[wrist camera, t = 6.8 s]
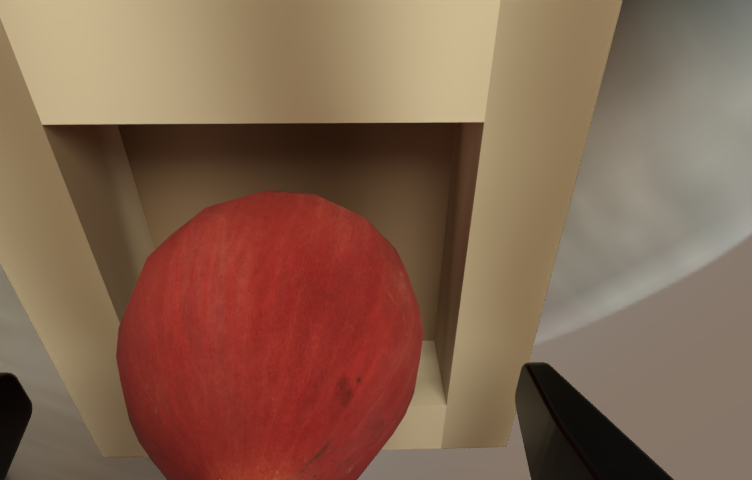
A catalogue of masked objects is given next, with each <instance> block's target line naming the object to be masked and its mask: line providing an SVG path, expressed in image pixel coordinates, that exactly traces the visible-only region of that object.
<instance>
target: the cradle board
mask: <svg viewBox="0 0 752 480" xmlns="http://www.w3.org/2000/svg"><path fill="white" fill-rule="evenodd" d="M621 4H622V1H621V0H0V263H1V265H2V267H3V269H4V271H5V273H6V275H7V277H8V279H9V280H10V282H11V284H12V286H13V288H14V290H15V292H16V294H17V296H18V297H19V299H20V301H21V303H22V305H23V307H24V309H25V311H26V313H27V315H28V316H29V318H30V320H31V322H32V324H33V326H34V328H35V330H36V332H37V333H38V335H39V337H40V339H41V341H42V343H43V345H44V347H45V349H46V351H47V352H48V354H49V356H50V358H51V360H52V362H53V364H54V366H55V368H56V369H57V371H58V373H59V375H60V377H61V379H62V381H63V383H64V385H65V387H66V388H67V390H68V392H69V394H70V396H71V398H72V400H73V402H74V404H75V405H76V407H77V409H78V411H79V413H80V415H81V417H82V419H83V421H84V423H85V424H86V426H87V428H88V430H89V432H90V434H91V436H92V438H93V440H94V441H95V443H96V445H97V447H98V449H99V451H100V453H101V455H102V457H103V458H106V457H144V456H148V454H147V453H146V452H145V450H144V449H143V447H142V446H141V445H140V443H139V441H138V439H137V437H136V435H135V432H134V430H133V428H132V426H131V423H130V421H129V417H128V412H127V408H126V404H125V399H124V395H123V391H122V386H121V382H120V376H119V371H118V365H117V360H116V351H117V340H118V330H119V325H120V323H121V321H122V318H123V316H124V313H125V311H126V308H127V306H128V303H129V301H130V298H131V296H132V293H133V291H134V288H135V286H136V283H137V281H138V278H139V276H140V274H141V271H142V269H143V266H144V264H145V261H146V259H147V257H148V256H149V255H150V254H151V253H152V252H153V251H154V250H155V249H156V248H157V247H158V246H160V245H161V244H162V243H163V242H164V241H165V240H166V239H167V238H168V237H169V236H170V235H171V234H173V233H174V232H175V231H176V230H178V229H179V228H180V227H181V226H183V225H184V224H185V223H187V222H188V221H189V220H190V219H192V218H193V217H194V216H195V215H197V214H198V213H199V212H201V211H202V210H203V209H204V208H206V207H209V206H212V205H216V204H220V203H223V202H227V201H230V200H234V199H237V198H241V197H244V196H248V195H251V194H255V193H258V192H263V191H267V190H276V191H287V192H298V193H309V194H316V195H318V196H320V197H322V198H324V199H326V200H329V201H331V202H333V203H335V204H337V205H340V206H342V207H344V208H346V209H348V210H350V211H353V212H355V213H357V214H359V215H361V216H363V217H365V218H366V219H367V220H368V221H369V222H370V223H371V224H372V225H373V226H374V227H375V228H376V229H377V230H378V231H379V232H380V233H381V234H382V235H383V236H384V237H385V238H386V239H387V240H388V241H389V242H390V243H391V244H392V245H393V246H394V247H395V248H396V250H397V252H398V254H399V256H400V258H401V260H402V262H403V264H404V267H405V269H406V271H407V274H408V277H409V279H410V282H411V285H412V288H413V290H414V293H415V296H416V299H417V301H418V304H419V307H420V314H421V320H422V326H423V332H424V333H423V340H422V348H421V356H420V362H419V368H418V374H417V380H416V385H415V391H414V395H413V397H412V400H411V402H410V405H409V407H408V410H407V412H406V415H405V416H404V418H403V419H402V421H401V422H400V424H399V426H398V427H397V429H396V430H395V432H394V433H393V435H392V436H391V437H390V439H389V440H388V441H387V443H386V444H385V445H384V446H383V448H382V449H381V450H408V449H446V448H447V449H448V448H483V447H484V448H485V447H507V443H508V440H509V436H510V432H511V429H512V425H513V421H514V416H515V413H516V405H515V392H516V388H517V384H518V380H519V376H520V372H521V368H522V366H523V365H524V364H525V363H529V359H530V355H531V351H532V348H533V344H534V340H535V336H536V332H537V328H538V324H539V321H540V317H541V313H542V309H543V305H544V301H545V297H546V294H547V290H548V286H549V282H550V278H551V274H552V270H553V267H554V263H555V259H556V255H557V251H558V247H559V243H560V240H561V236H562V232H563V228H564V224H565V220H566V216H567V213H568V209H569V205H570V201H571V197H572V193H573V189H574V185H575V182H576V178H577V174H578V170H579V166H580V162H581V158H582V155H583V151H584V147H585V143H586V139H587V135H588V131H589V128H590V124H591V120H592V116H593V112H594V108H595V104H596V101H597V97H598V93H599V89H600V85H601V81H602V77H603V74H604V70H605V66H606V62H607V58H608V54H609V50H610V47H611V43H612V39H613V35H614V31H615V27H616V23H617V20H618V16H619V12H620V8H621Z"/></svg>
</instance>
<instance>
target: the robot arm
mask: <svg viewBox="0 0 752 480" xmlns="http://www.w3.org/2000/svg"><path fill="white" fill-rule="evenodd" d="M515 405H516V410H517V414H518V419H519V424H520V429H521V433H522V438H523V443H524V448H525V452H526V457H527V461H528V466H529V471H530V476H531V480H674V479H673V478H672V477H671V476H669V475H668V474H667V473H666V472H665V471H664V470H663V469H662V468H661V467H659V465H657V464H656V463H655V462H654V461H653V460H652V459H651V458H650V457H649V456H648V455H647V454H646V453H645V452H643V451H642V450H641V449H640V448H639V447H638V446H637V445H636V444H635V443H634V442H632V440H630V439H629V438H628V437H627V436H626V435H625V434H624V433H623V432H622V431H621V430H620V429H618V428H617V427H616V426H615V425H614V424H613V423H612V422H611V421H610V420H609V419H608V418H607V417H606V416H604V415H603V414H602V413H601V412H600V411H599V410H598V409H597V408H596V407H595V406H593V404H591V403H590V402H589V401H588V400H587V399H586V398H585V397H584V396H583V395H581V393H580V392H578V391H577V390H576V389H575V388H574V387H573V386H572V385H571V384H570V383H569V382H567V380H565V379H564V378H563V377H562V376H561V375H560V374H559V373H558V372H557V371H556V370H555V369H554V368H552V367H551V366H550V365H549V364H547V363H544V362H534V363H525V364H524V365H523V366H522V368H521V372H520V376H519V380H518V384H517V388H516V392H515ZM31 414H32V403H31V400H30V399H29V397H28V395H27V394H26V392H25V390H24V389H23V387H22V385H21V384H20V382H19V380H18V379H17V377H16V376H15V375H13V374H12V373H0V480H4V479H5V477H6V474H7V472H8V470H9V467H10V465H11V463H12V460H13V458H14V456H15V453H16V451H17V448H18V446H19V444H20V441H21V439H22V437H23V434H24V432H25V430H26V427H27V425H28V422H29V420H30V418H31Z"/></svg>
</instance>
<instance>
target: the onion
mask: <svg viewBox="0 0 752 480" xmlns="http://www.w3.org/2000/svg"><path fill="white" fill-rule="evenodd" d="M423 333H424V332H423V326H422V320H421V314H420V307H419V304H418V301H417V299H416V296H415V293H414V290H413V288H412V285H411V282H410V279H409V277H408V274H407V271H406V269H405V267H404V264H403V262H402V260H401V258H400V256H399V254H398V252H397V250H396V248H395V247H394V246H393V245H392V244H391V243H390V242H389V241H388V240H387V239H386V238H385V237H384V236H383V235H382V234H381V233H380V232H379V231H378V230H377V229H376V228H375V227H374V226H373V225H372V224H371V223H370V222H369V221H368V220H367V219H366V218H365V217H363V216H361V215H359V214H357V213H355V212H353V211H350V210H348V209H346V208H344V207H342V206H340V205H337V204H335V203H333V202H331V201H329V200H326V199H324V198H322V197H320V196H318V195H316V194H309V193H298V192H287V191H276V190H267V191H263V192H258V193H255V194H251V195H248V196H244V197H241V198H237V199H234V200H230V201H227V202H223V203H220V204H216V205H212V206H209V207H206V208H204V209H203V210H202V211H201V212H199V213H198V214H197V215H195V216H194V217H193V218H192V219H190V220H189V221H188V222H187V223H185V224H184V225H183V226H181V227H180V228H179V229H178V230H176V231H175V232H174V233H173V234H171V235H170V236H169V237H168V238H167V239H166V240H165V241H164V242H163V243H162V244H161V245H160V246H158V247H157V248H156V249H155V250H154V251H153V252H152V253H151V254H150V255H149V256H148V257H147V259H146V261H145V264H144V266H143V269H142V271H141V274H140V276H139V278H138V281H137V283H136V286H135V288H134V291H133V293H132V296H131V298H130V301H129V303H128V306H127V308H126V311H125V313H124V316H123V318H122V321H121V323H120V325H119V330H118V340H117V351H116V360H117V365H118V371H119V376H120V382H121V386H122V391H123V395H124V399H125V404H126V408H127V412H128V417H129V421H130V423H131V426H132V428H133V430H134V432H135V435H136V437H137V439H138V441H139V443H140V445H141V446H142V447H143V449H144V450H145V452H146V453H147V454H148V456H149V457H150V458H151V460H152V461H153V462H154V464H155V465H156V466H157V467H158V469H159V470H160V471H161V472H162V473H163V475H164V476H165V477H166V478H167V480H356V479H358V478H359V476H360V475H361V474H362V473H363V471H364V470H365V469H366V468H367V466H368V465H369V464H370V462H371V461H372V460H373V459H374V458H375V456H376V455H377V454H378V453H379V451H380V450H381V449H382V448H383V446H384V445H385V444H386V443H387V441H388V440H389V439H390V437H391V436H392V435H393V433H394V432H395V430H396V429H397V427H398V426H399V424H400V422H401V421H402V419H403V418H404V416H405V415H406V412H407V410H408V407H409V405H410V402H411V400H412V397H413V395H414V391H415V385H416V380H417V374H418V368H419V362H420V356H421V348H422V340H423Z"/></svg>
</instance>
